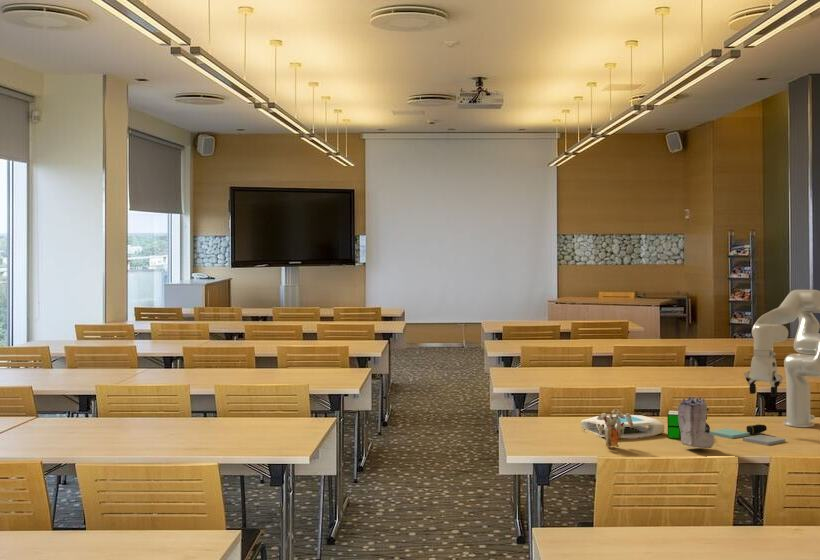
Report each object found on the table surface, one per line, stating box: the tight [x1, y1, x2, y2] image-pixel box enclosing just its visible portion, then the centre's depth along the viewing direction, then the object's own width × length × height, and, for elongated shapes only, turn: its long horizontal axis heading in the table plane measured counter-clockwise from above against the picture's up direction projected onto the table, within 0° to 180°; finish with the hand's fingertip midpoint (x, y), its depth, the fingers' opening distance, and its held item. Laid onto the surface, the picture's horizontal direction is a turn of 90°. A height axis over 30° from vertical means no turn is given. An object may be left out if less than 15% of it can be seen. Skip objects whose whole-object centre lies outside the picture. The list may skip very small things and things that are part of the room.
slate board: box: [742, 434, 786, 446], centre depth 325 cm, size 12×11×1 cm
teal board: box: [709, 428, 751, 440], centre depth 339 cm, size 12×11×1 cm
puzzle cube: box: [667, 410, 681, 440], centre depth 335 cm, size 10×10×10 cm
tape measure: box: [745, 424, 768, 435], centre depth 339 cm, size 7×7×4 cm
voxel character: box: [597, 408, 633, 448], centre depth 314 cm, size 11×10×15 cm
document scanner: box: [580, 414, 665, 439], centre depth 344 cm, size 21×28×6 cm
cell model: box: [677, 396, 715, 449], centre depth 313 cm, size 13×11×20 cm
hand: (763, 395), depth 338 cm, fingers open, 9 cm apart
